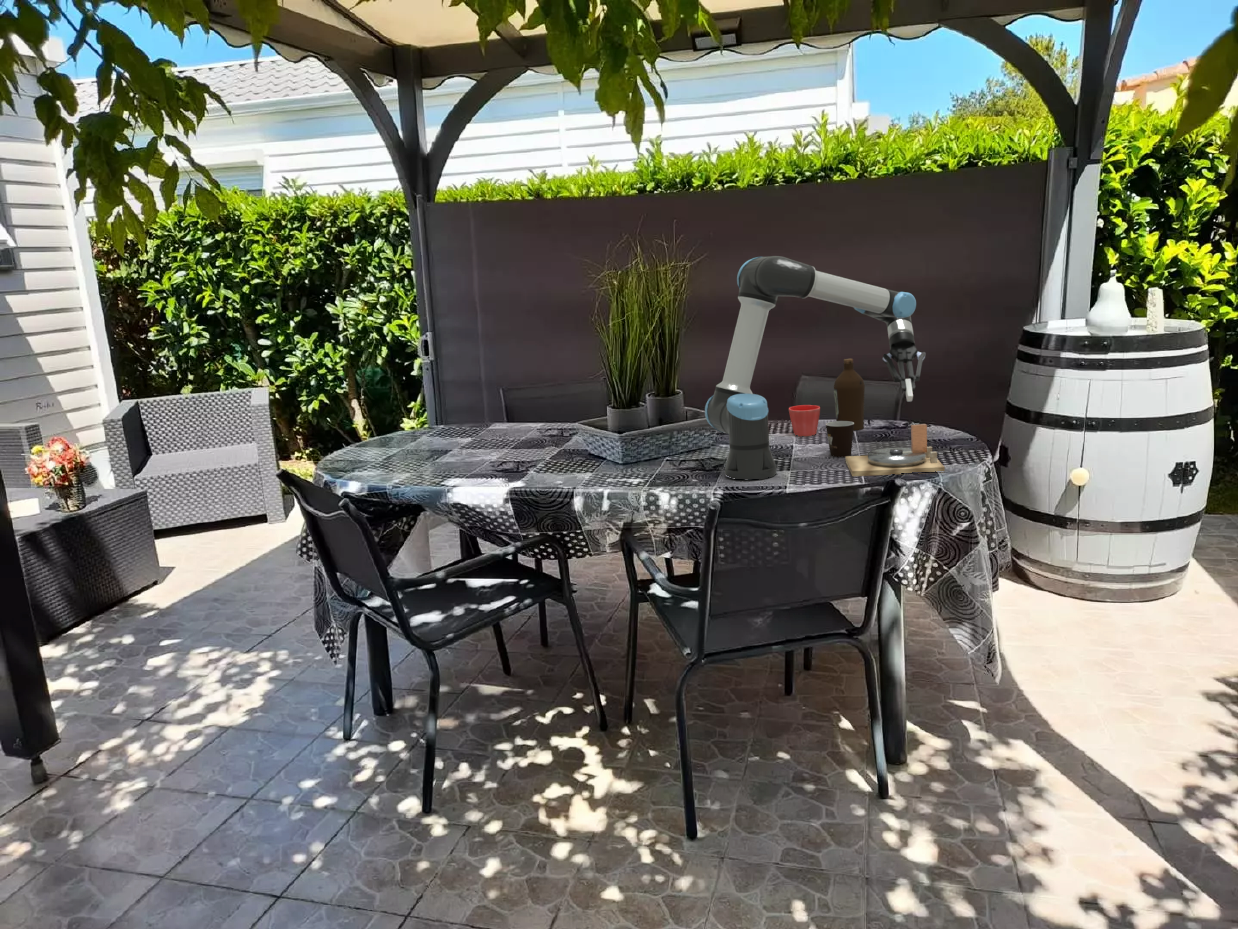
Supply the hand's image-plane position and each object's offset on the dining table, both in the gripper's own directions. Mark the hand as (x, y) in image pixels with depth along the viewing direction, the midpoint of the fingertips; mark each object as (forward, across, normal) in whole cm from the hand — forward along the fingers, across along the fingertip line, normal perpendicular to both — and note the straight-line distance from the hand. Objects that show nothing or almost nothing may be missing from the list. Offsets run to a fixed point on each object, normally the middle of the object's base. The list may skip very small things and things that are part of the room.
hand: (909, 398), depth 261 cm
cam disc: (+20, +5, -3) cm, 21 cm away
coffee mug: (+7, +20, -18) cm, 28 cm away
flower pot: (-17, +29, -42) cm, 54 cm away
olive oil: (-21, +13, -46) cm, 52 cm away
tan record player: (+21, +7, -4) cm, 23 cm away
